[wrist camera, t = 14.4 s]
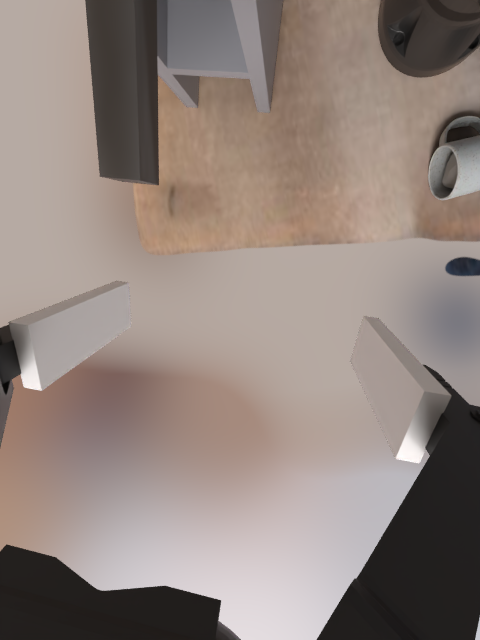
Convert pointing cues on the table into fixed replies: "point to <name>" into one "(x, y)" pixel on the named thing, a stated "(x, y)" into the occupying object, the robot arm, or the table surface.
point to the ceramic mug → (456, 163)
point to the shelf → (218, 44)
